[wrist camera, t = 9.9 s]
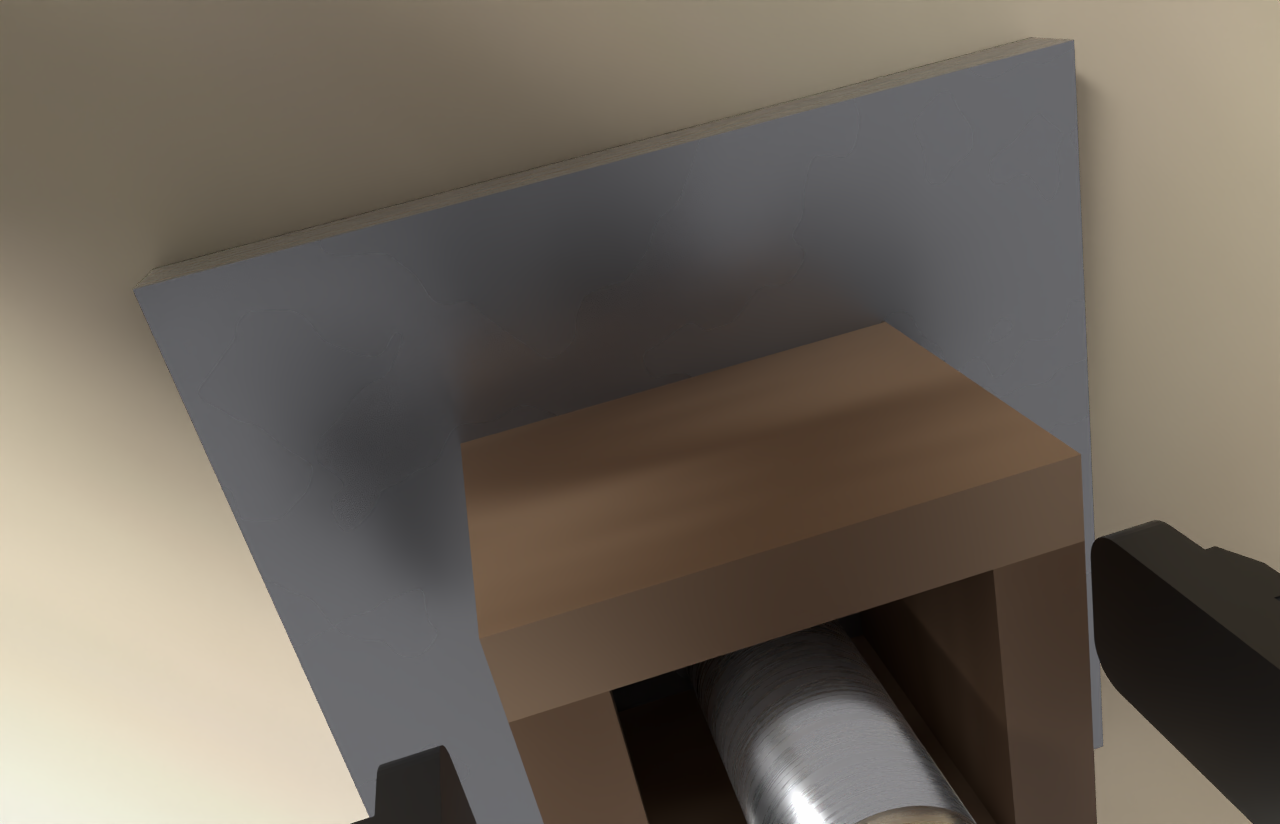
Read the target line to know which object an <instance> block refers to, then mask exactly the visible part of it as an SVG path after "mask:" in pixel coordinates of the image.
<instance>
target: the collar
mask: <svg viewBox="0 0 1280 824" xmlns="http://www.w3.org/2000/svg"><path fill="white" fill-rule="evenodd" d="M460 445H461V455H462V466H463V476H464V487H465V497H466V507H467V518H468V528H469V539H470V549H471V559H472V570H473V580H474V591H475V601H476V612H477V622H478V632H479V640H480V643H481V646H482V648H483V651H484V654H485V657H486V660H487V663H488V666H489V668H490V671H491V674H492V677H493V680H494V683H495V686H496V689H497V691H498V694H499V697H500V700H501V703H502V706H503V709H504V711H505V714H506V717H507V720H508V723H509V726H510V729H511V731H512V734H513V737H514V740H515V743H516V746H517V749H518V751H519V754H520V757H521V760H522V763H523V766H524V769H525V771H526V774H527V777H528V780H529V783H530V786H531V789H532V791H533V794H534V797H535V800H536V803H537V806H538V809H539V811H540V814H541V817H542V820H543V823H544V824H748V823H747V821H746V818H745V816H744V814H743V811H742V809H741V806H740V804H739V801H738V799H737V796H736V794H735V791H734V789H733V786H732V784H731V781H730V779H729V776H728V774H727V771H726V769H725V766H724V764H723V761H722V759H721V756H720V754H719V751H718V749H717V746H716V744H715V741H714V739H713V736H712V734H711V731H710V729H709V727H708V724H707V722H706V719H705V717H704V714H703V712H702V709H701V707H700V704H699V702H698V699H697V697H696V694H695V692H694V689H690V690H687V691H684V692H681V693H678V694H674V695H671V696H668V697H665V698H662V699H659V700H656V701H652V702H649V703H646V704H643V705H640V706H637V707H634V708H630V709H627V710H624V711H621V712H618V710H617V707H616V704H615V700H614V697H613V693H612V690H614V689H617V688H620V687H623V686H626V685H629V684H633V683H636V682H639V681H642V680H645V679H648V678H652V677H655V676H658V675H661V674H664V673H667V672H671V671H674V670H677V669H680V668H683V667H686V666H690V665H693V664H696V663H699V662H702V661H705V660H709V659H712V658H715V657H718V656H721V655H724V654H728V653H731V652H734V651H737V650H740V649H743V648H747V647H750V646H753V645H756V644H759V643H762V642H766V641H769V640H772V639H775V638H778V637H781V636H785V635H788V634H791V633H794V632H797V631H800V630H804V629H807V628H810V627H813V626H816V625H819V624H823V623H826V622H829V621H832V620H835V619H838V618H842V617H845V616H848V615H851V614H854V613H857V612H860V618H861V625H862V631H863V635H860V636H857V637H853V638H850V639H851V640H852V642H853V643H854V645H855V646H856V648H857V649H858V651H859V652H860V654H861V655H862V657H863V658H864V659H865V661H866V662H867V664H868V665H869V667H870V668H871V670H872V671H873V673H874V674H875V676H876V677H877V679H878V680H879V681H880V683H881V684H882V686H883V687H884V689H885V690H886V692H887V693H888V695H889V696H890V698H891V699H892V701H893V702H894V703H895V705H896V706H897V708H898V709H899V711H900V712H901V714H902V715H903V717H904V718H905V720H906V721H907V723H908V724H909V725H910V727H911V728H912V730H913V731H914V733H915V734H916V736H917V737H918V739H919V740H920V742H921V743H922V744H923V746H924V747H925V749H926V750H927V752H928V753H929V755H930V756H931V758H932V759H933V761H934V762H935V764H936V765H937V766H938V768H939V769H940V771H941V772H942V774H943V775H944V777H945V778H946V780H947V781H948V783H949V784H950V786H951V787H952V788H953V790H954V791H955V793H956V794H957V796H958V797H959V799H960V800H961V802H962V803H963V805H964V806H965V808H966V809H967V810H968V812H969V813H970V815H971V816H972V818H973V819H974V821H975V822H976V824H1097V817H1096V793H1095V770H1094V747H1093V723H1092V700H1091V677H1090V653H1089V630H1088V607H1087V583H1086V560H1085V537H1084V513H1083V490H1082V467H1081V454H1080V453H1078V452H1077V451H1075V450H1074V449H1072V448H1071V447H1069V446H1068V445H1066V444H1065V443H1064V442H1062V441H1061V440H1059V439H1058V438H1056V437H1055V436H1053V435H1052V434H1050V433H1049V432H1047V431H1046V430H1044V429H1043V428H1041V427H1040V426H1038V425H1037V424H1036V423H1034V422H1033V421H1031V420H1030V419H1028V418H1027V417H1025V416H1024V415H1022V414H1021V413H1019V412H1018V411H1016V410H1015V409H1013V408H1012V407H1010V406H1009V405H1008V404H1006V403H1005V402H1003V401H1002V400H1000V399H999V398H997V397H996V396H994V395H993V394H991V393H990V392H988V391H987V390H985V389H984V388H982V387H981V386H979V385H978V384H977V383H975V382H974V381H972V380H971V379H969V378H968V377H966V376H965V375H963V374H962V373H960V372H959V371H957V370H956V369H954V368H953V367H951V366H950V365H949V364H947V363H946V362H944V361H943V360H941V359H940V358H938V357H937V356H935V355H934V354H932V353H931V352H929V351H928V350H926V349H925V348H923V347H922V346H920V345H919V344H918V343H916V342H915V341H913V340H912V339H910V338H909V337H907V336H906V335H904V334H903V333H901V332H900V331H898V330H897V329H895V328H894V327H892V326H891V325H890V324H888V323H887V322H883V323H880V324H876V325H873V326H869V327H866V328H862V329H859V330H855V331H852V332H848V333H845V334H841V335H838V336H834V337H831V338H827V339H824V340H821V341H817V342H814V343H810V344H807V345H803V346H800V347H796V348H793V349H789V350H786V351H782V352H779V353H775V354H772V355H768V356H765V357H761V358H758V359H754V360H751V361H747V362H744V363H740V364H737V365H733V366H730V367H726V368H723V369H719V370H716V371H712V372H709V373H705V374H702V375H698V376H695V377H691V378H688V379H684V380H681V381H677V382H674V383H670V384H667V385H663V386H660V387H656V388H653V389H649V390H646V391H642V392H639V393H635V394H632V395H628V396H625V397H621V398H618V399H614V400H611V401H607V402H604V403H600V404H597V405H593V406H590V407H586V408H583V409H580V410H576V411H573V412H569V413H566V414H562V415H559V416H555V417H552V418H548V419H545V420H541V421H538V422H534V423H531V424H527V425H524V426H520V427H517V428H513V429H510V430H506V431H503V432H499V433H496V434H492V435H489V436H485V437H482V438H478V439H475V440H471V441H468V442H464V443H461V444H460Z"/></svg>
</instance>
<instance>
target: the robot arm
mask: <svg viewBox="0 0 1280 824" xmlns="http://www.w3.org/2000/svg"><path fill="white" fill-rule="evenodd" d="M1090 558H1091V581H1092V604H1093V627H1094V643H1095V648H1096V652H1097V655H1098V658H1099V661H1100V663H1101V665H1102V668H1103V670H1104V672H1105V673H1106V675H1107V677H1108V678H1109V680H1110V682H1111V683H1112V684H1113V686H1114V687H1115V688H1116V689H1117V690H1118V692H1119V693H1120V694H1121V695H1122V696H1123V697H1124V698H1125V699H1126V700H1127V701H1128V702H1129V703H1130V704H1132V705H1133V706H1134V707H1135V708H1136V709H1137V710H1138V711H1139V712H1140V713H1141V714H1142V715H1143V716H1144V717H1145V718H1146V719H1147V720H1148V721H1149V722H1150V723H1151V724H1152V725H1153V726H1154V727H1155V728H1156V729H1157V730H1158V731H1159V732H1160V733H1161V734H1162V735H1163V736H1164V737H1165V738H1166V739H1167V740H1168V741H1169V742H1170V743H1171V744H1172V745H1173V746H1174V747H1175V748H1176V749H1177V750H1178V751H1179V752H1180V753H1181V754H1183V755H1184V756H1185V757H1186V758H1187V759H1188V760H1189V761H1190V762H1191V763H1192V764H1193V765H1194V766H1195V767H1196V768H1197V769H1198V770H1199V771H1200V772H1201V773H1202V774H1203V775H1204V776H1205V777H1206V778H1207V779H1208V780H1209V781H1210V782H1211V783H1212V784H1213V785H1214V786H1215V787H1216V788H1217V789H1218V790H1219V791H1220V792H1221V793H1222V794H1223V795H1224V796H1225V797H1226V798H1227V799H1228V800H1229V801H1230V802H1231V803H1232V804H1233V805H1235V806H1236V807H1237V808H1238V809H1239V810H1240V811H1241V812H1242V813H1243V814H1244V815H1245V816H1246V817H1247V818H1248V819H1249V820H1250V821H1251V822H1252V823H1253V824H1280V573H1278V572H1277V571H1275V570H1274V569H1272V568H1271V567H1269V566H1268V565H1266V564H1265V563H1262V562H1259V561H1256V560H1254V559H1251V558H1248V557H1245V556H1242V555H1239V554H1236V553H1233V552H1230V551H1227V550H1225V549H1222V548H1219V547H1216V546H1215V547H1212V548H1209V549H1203V548H1202V547H1200V546H1199V545H1197V544H1196V543H1194V542H1193V541H1192V540H1190V539H1189V538H1187V537H1186V536H1184V535H1183V534H1181V533H1180V532H1179V531H1177V530H1176V529H1174V528H1173V527H1171V526H1170V525H1168V524H1166V523H1165V522H1162V521H1157V520H1154V521H1150V522H1147V523H1144V524H1141V525H1138V526H1134V527H1131V528H1128V529H1125V530H1122V531H1119V532H1116V533H1113V534H1109V535H1106V536H1103V537H1100V538H1098V539H1096V540H1095V541H1094V542H1093V544H1092V547H1091V557H1090ZM351 824H477V823H476V820H475V818H474V815H473V813H472V810H471V808H470V805H469V802H468V800H467V797H466V795H465V792H464V790H463V787H462V785H461V782H460V779H459V777H458V774H457V772H456V769H455V767H454V764H453V762H452V759H451V757H450V754H449V752H448V750H447V749H446V747H445V746H444V745H440V746H437V747H434V748H431V749H428V750H425V751H422V752H418V753H415V754H412V755H409V756H406V757H403V758H400V759H397V760H393V761H390V762H387V763H384V764H381V765H379V767H378V770H377V778H376V796H375V815H374V816H373V817H370V818H367V819H364V820H361V821H357V822H354V823H351Z"/></svg>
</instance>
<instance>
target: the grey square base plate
mask: <svg viewBox="0 0 1280 824" xmlns="http://www.w3.org/2000/svg"><path fill="white" fill-rule="evenodd" d="M133 291H134V294H135V296H136V298H137V300H138V303H139V305H140V307H141V309H142V311H143V314H144V316H145V318H146V320H147V323H148V325H149V327H150V329H151V331H152V334H153V336H154V338H155V340H156V343H157V345H158V347H159V349H160V352H161V354H162V356H163V358H164V360H165V363H166V365H167V367H168V369H169V372H170V374H171V376H172V378H173V380H174V383H175V385H176V387H177V389H178V392H179V394H180V396H181V398H182V401H183V403H184V405H185V407H186V409H187V412H188V414H189V416H190V418H191V421H192V423H193V425H194V427H195V429H196V432H197V434H198V436H199V438H200V441H201V443H202V445H203V447H204V449H205V452H206V454H207V456H208V458H209V461H210V463H211V465H212V467H213V470H214V472H215V474H216V476H217V478H218V481H219V483H220V485H221V487H222V490H223V492H224V494H225V496H226V498H227V501H228V503H229V505H230V507H231V510H232V512H233V514H234V516H235V519H236V521H237V523H238V525H239V527H240V530H241V532H242V534H243V536H244V539H245V541H246V543H247V545H248V547H249V550H250V552H251V554H252V556H253V559H254V561H255V563H256V565H257V568H258V570H259V572H260V574H261V576H262V579H263V581H264V583H265V585H266V588H267V590H268V592H269V594H270V596H271V599H272V601H273V603H274V605H275V608H276V610H277V612H278V614H279V616H280V619H281V621H282V623H283V625H284V628H285V630H286V632H287V634H288V637H289V639H290V641H291V643H292V645H293V648H294V650H295V652H296V654H297V657H298V659H299V661H300V663H301V665H302V668H303V670H304V672H305V674H306V677H307V679H308V681H309V683H310V686H311V688H312V690H313V692H314V694H315V697H316V699H317V701H318V703H319V706H320V708H321V710H322V712H323V714H324V717H325V719H326V721H327V723H328V726H329V728H330V730H331V732H332V734H333V737H334V739H335V741H336V743H337V746H338V748H339V750H340V752H341V755H342V757H343V759H344V761H345V763H346V766H347V768H348V770H349V772H350V775H351V777H352V779H353V781H354V783H355V786H356V788H357V790H358V792H359V795H360V797H361V799H362V801H363V804H364V806H365V808H366V810H367V812H368V815H369V817H373V816H374V815H375V796H376V778H377V770H378V767H379V765H381V764H384V763H387V762H390V761H393V760H397V759H400V758H403V757H406V756H409V755H412V754H415V753H418V752H422V751H425V750H428V749H431V748H434V747H437V746H440V745H444V746H445V747H446V749H447V750H448V752H449V754H450V757H451V759H452V762H453V764H454V767H455V769H456V772H457V774H458V777H459V779H460V782H461V785H462V787H463V790H464V792H465V795H466V797H467V800H468V802H469V805H470V808H471V810H472V813H473V815H474V818H475V820H476V823H477V824H544V823H543V820H542V817H541V814H540V811H539V809H538V806H537V803H536V800H535V797H534V794H533V791H532V789H531V786H530V783H529V780H528V777H527V774H526V771H525V769H524V766H523V763H522V760H521V757H520V754H519V751H518V749H517V746H516V743H515V740H514V737H513V734H512V731H511V729H510V726H509V723H508V720H507V717H506V714H505V711H504V709H503V706H502V703H501V700H500V697H499V694H498V691H497V689H496V686H495V683H494V680H493V677H492V674H491V671H490V668H489V666H488V663H487V660H486V657H485V654H484V651H483V648H482V646H481V643H480V640H479V632H478V622H477V612H476V601H475V591H474V580H473V570H472V559H471V549H470V539H469V528H468V518H467V507H466V497H465V487H464V476H463V466H462V455H461V445H460V444H461V443H464V442H468V441H471V440H475V439H478V438H482V437H485V436H489V435H492V434H496V433H499V432H503V431H506V430H510V429H513V428H517V427H520V426H524V425H527V424H531V423H534V422H538V421H541V420H545V419H548V418H552V417H555V416H559V415H562V414H566V413H569V412H573V411H576V410H580V409H583V408H586V407H590V406H593V405H597V404H600V403H604V402H607V401H611V400H614V399H618V398H621V397H625V396H628V395H632V394H635V393H639V392H642V391H646V390H649V389H653V388H656V387H660V386H663V385H667V384H670V383H674V382H677V381H681V380H684V379H688V378H691V377H695V376H698V375H702V374H705V373H709V372H712V371H716V370H719V369H723V368H726V367H730V366H733V365H737V364H740V363H744V362H747V361H751V360H754V359H758V358H761V357H765V356H768V355H772V354H775V353H779V352H782V351H786V350H789V349H793V348H796V347H800V346H803V345H807V344H810V343H814V342H817V341H821V340H824V339H827V338H831V337H834V336H838V335H841V334H845V333H848V332H852V331H855V330H859V329H862V328H866V327H869V326H873V325H876V324H880V323H883V322H887V323H888V324H890V325H891V326H892V327H894V328H895V329H897V330H898V331H900V332H901V333H903V334H904V335H906V336H907V337H909V338H910V339H912V340H913V341H915V342H916V343H918V344H919V345H920V346H922V347H923V348H925V349H926V350H928V351H929V352H931V353H932V354H934V355H935V356H937V357H938V358H940V359H941V360H943V361H944V362H946V363H947V364H949V365H950V366H951V367H953V368H954V369H956V370H957V371H959V372H960V373H962V374H963V375H965V376H966V377H968V378H969V379H971V380H972V381H974V382H975V383H977V384H978V385H979V386H981V387H982V388H984V389H985V390H987V391H988V392H990V393H991V394H993V395H994V396H996V397H997V398H999V399H1000V400H1002V401H1003V402H1005V403H1006V404H1008V405H1009V406H1010V407H1012V408H1013V409H1015V410H1016V411H1018V412H1019V413H1021V414H1022V415H1024V416H1025V417H1027V418H1028V419H1030V420H1031V421H1033V422H1034V423H1036V424H1037V425H1038V426H1040V427H1041V428H1043V429H1044V430H1046V431H1047V432H1049V433H1050V434H1052V435H1053V436H1055V437H1056V438H1058V439H1059V440H1061V441H1062V442H1064V443H1065V444H1066V445H1068V446H1069V447H1071V448H1072V449H1074V450H1075V451H1077V452H1078V453H1080V454H1081V467H1082V490H1083V513H1084V537H1085V560H1086V583H1087V607H1088V630H1089V653H1090V677H1091V700H1092V723H1093V747H1094V749H1096V748H1099V747H1102V746H1103V730H1102V706H1101V682H1100V661H1099V658H1098V655H1097V652H1096V648H1095V643H1094V627H1093V604H1092V581H1091V558H1090V557H1091V547H1092V544H1093V542H1094V541H1095V536H1094V512H1093V488H1092V463H1091V439H1090V415H1089V391H1088V366H1087V342H1086V318H1085V294H1084V269H1083V245H1082V221H1081V197H1080V173H1079V148H1078V124H1077V100H1076V76H1075V51H1074V40H1067V39H1048V38H1027V39H1024V40H1020V41H1016V42H1012V43H1008V44H1005V45H1001V46H997V47H993V48H990V49H986V50H982V51H978V52H974V53H971V54H967V55H963V56H959V57H955V58H952V59H948V60H944V61H940V62H936V63H933V64H929V65H925V66H921V67H917V68H914V69H910V70H906V71H902V72H899V73H895V74H891V75H887V76H883V77H880V78H876V79H872V80H868V81H864V82H861V83H857V84H853V85H849V86H845V87H842V88H838V89H834V90H830V91H826V92H823V93H819V94H815V95H811V96H808V97H804V98H800V99H796V100H792V101H789V102H785V103H781V104H777V105H773V106H770V107H766V108H762V109H758V110H754V111H751V112H747V113H743V114H739V115H735V116H732V117H728V118H724V119H720V120H717V121H713V122H709V123H705V124H701V125H698V126H694V127H690V128H686V129H682V130H679V131H675V132H671V133H667V134H663V135H660V136H656V137H652V138H648V139H644V140H641V141H637V142H633V143H629V144H626V145H622V146H618V147H614V148H610V149H607V150H603V151H599V152H595V153H591V154H588V155H584V156H580V157H576V158H572V159H569V160H565V161H561V162H557V163H553V164H550V165H546V166H542V167H538V168H535V169H531V170H527V171H523V172H519V173H516V174H512V175H508V176H504V177H500V178H497V179H493V180H489V181H485V182H481V183H478V184H474V185H470V186H466V187H462V188H459V189H455V190H451V191H447V192H444V193H440V194H436V195H432V196H428V197H425V198H421V199H417V200H413V201H409V202H406V203H402V204H398V205H394V206H390V207H387V208H383V209H379V210H375V211H371V212H368V213H364V214H360V215H356V216H353V217H349V218H345V219H341V220H337V221H334V222H330V223H326V224H322V225H318V226H315V227H311V228H307V229H303V230H299V231H296V232H292V233H288V234H284V235H280V236H277V237H273V238H269V239H265V240H262V241H258V242H254V243H250V244H246V245H243V246H239V247H235V248H231V249H227V250H224V251H220V252H216V253H212V254H208V255H205V256H201V257H197V258H193V259H189V260H186V261H182V262H178V263H174V264H171V265H167V266H163V267H159V268H155V269H153V270H152V271H151V272H150V273H149V274H148V275H147V276H146V277H145V278H144V279H143V280H142V281H141V282H140V283H139V284H138V285H137V286H136V287H135V288H134V289H133ZM860 635H863V631H862V625H861V618H860V612H857V613H854V614H851V615H848V616H845V617H842V618H838V619H835V620H832V621H829V622H826V623H823V624H819V625H816V626H813V627H810V628H807V629H804V630H800V631H797V632H794V633H791V634H788V635H785V636H781V637H778V638H775V639H772V640H769V641H766V642H762V643H759V644H756V645H753V646H750V647H747V648H743V649H740V650H737V651H734V652H731V653H728V654H724V655H721V656H718V657H715V658H712V659H709V660H705V661H702V662H699V663H696V664H693V665H690V666H686V667H683V668H680V669H677V670H674V671H671V672H667V673H664V674H661V675H658V676H655V677H652V678H648V679H645V680H642V681H639V682H636V683H633V684H629V685H626V686H623V687H620V688H617V689H614V690H612V693H613V697H614V700H615V704H616V707H617V710H618V712H621V711H624V710H627V709H630V708H634V707H637V706H640V705H643V704H646V703H649V702H652V701H656V700H659V699H662V698H665V697H668V696H671V695H674V694H678V693H681V692H684V691H687V690H690V689H694V692H695V694H696V697H697V699H698V702H699V704H700V707H701V709H702V712H703V714H704V717H705V719H706V722H707V724H708V727H709V729H710V731H711V734H712V736H713V739H714V741H715V744H716V746H717V749H718V751H719V754H720V756H721V759H722V761H723V764H724V766H725V769H726V771H727V774H728V776H729V779H730V781H731V784H732V786H733V789H734V791H735V794H736V796H737V799H738V801H739V804H740V806H741V809H742V811H743V814H744V816H745V818H746V821H747V823H748V824H976V822H975V821H974V819H973V818H972V816H971V815H970V813H969V812H968V810H967V809H966V808H965V806H964V805H963V803H962V802H961V800H960V799H959V797H958V796H957V794H956V793H955V791H954V790H953V788H952V787H951V786H950V784H949V783H948V781H947V780H946V778H945V777H944V775H943V774H942V772H941V771H940V769H939V768H938V766H937V765H936V764H935V762H934V761H933V759H932V758H931V756H930V755H929V753H928V752H927V750H926V749H925V747H924V746H923V744H922V743H921V742H920V740H919V739H918V737H917V736H916V734H915V733H914V731H913V730H912V728H911V727H910V725H909V724H908V723H907V721H906V720H905V718H904V717H903V715H902V714H901V712H900V711H899V709H898V708H897V706H896V705H895V703H894V702H893V701H892V699H891V698H890V696H889V695H888V693H887V692H886V690H885V689H884V687H883V686H882V684H881V683H880V681H879V680H878V679H877V677H876V676H875V674H874V673H873V671H872V670H871V668H870V667H869V665H868V664H867V662H866V661H865V659H864V658H863V657H862V655H861V654H860V652H859V651H858V649H857V648H856V646H855V645H854V643H853V642H852V640H851V639H850V638H853V637H857V636H860Z"/></svg>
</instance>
